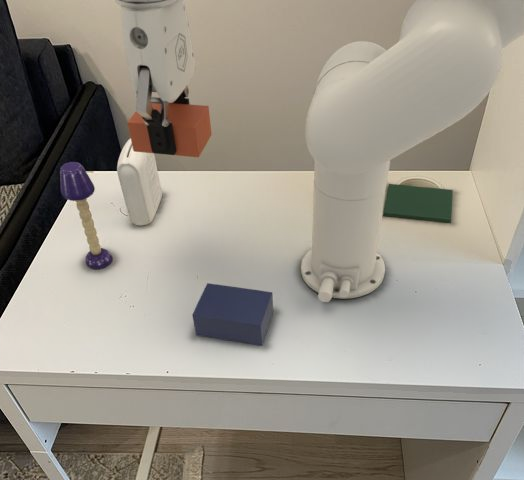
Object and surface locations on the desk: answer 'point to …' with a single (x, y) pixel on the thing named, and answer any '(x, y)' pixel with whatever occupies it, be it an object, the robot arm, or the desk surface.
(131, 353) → the desk surface
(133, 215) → the photo printer
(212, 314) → the navy blue rectangular block
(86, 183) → the toy lamp
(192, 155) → the orange rectangular brick
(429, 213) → the mat
